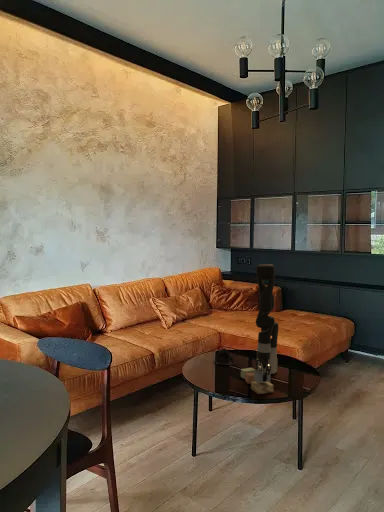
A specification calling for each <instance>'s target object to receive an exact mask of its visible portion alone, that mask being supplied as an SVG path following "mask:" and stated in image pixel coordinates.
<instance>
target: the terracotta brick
mask: <svg viewBox="0 0 384 512" xmlns="http://www.w3.org/2000/svg"><path fill="white" fill-rule="evenodd" d="M254 381H255V380H254V373H246V379H244V382H246V383H247V384H248V385H249V384H250V385H251V382H254Z"/></svg>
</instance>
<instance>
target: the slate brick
mask: <svg viewBox="0 0 384 512" xmlns="http://www.w3.org/2000/svg"><path fill="white" fill-rule="evenodd" d="M271 375H272V374H271V373H270V375H267V381H265V382H270V383H271V380H272V379H271V377H272V376H271ZM254 380H255V381H256V382H258V383H260V382H264V381H263V371H258V370H256V371H255V373H254Z"/></svg>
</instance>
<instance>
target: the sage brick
mask: <svg viewBox="0 0 384 512" xmlns="http://www.w3.org/2000/svg"><path fill="white" fill-rule="evenodd" d="M255 371H257V369H256V368H255V369H254V368H253V367H246V368H241V369H240V378H242V379H244V380H246V373H255Z"/></svg>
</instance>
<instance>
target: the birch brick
mask: <svg viewBox="0 0 384 512" xmlns="http://www.w3.org/2000/svg"><path fill="white" fill-rule="evenodd" d="M274 386H275V385H274V384H272V383H271V381H270V382H260V383H258V382H256V381H254V382H251V384H250V389H251V391H253V392H255V393H256V394H257V395H260V394H261V395H262V394H269V393H274V388H275V387H274Z"/></svg>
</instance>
